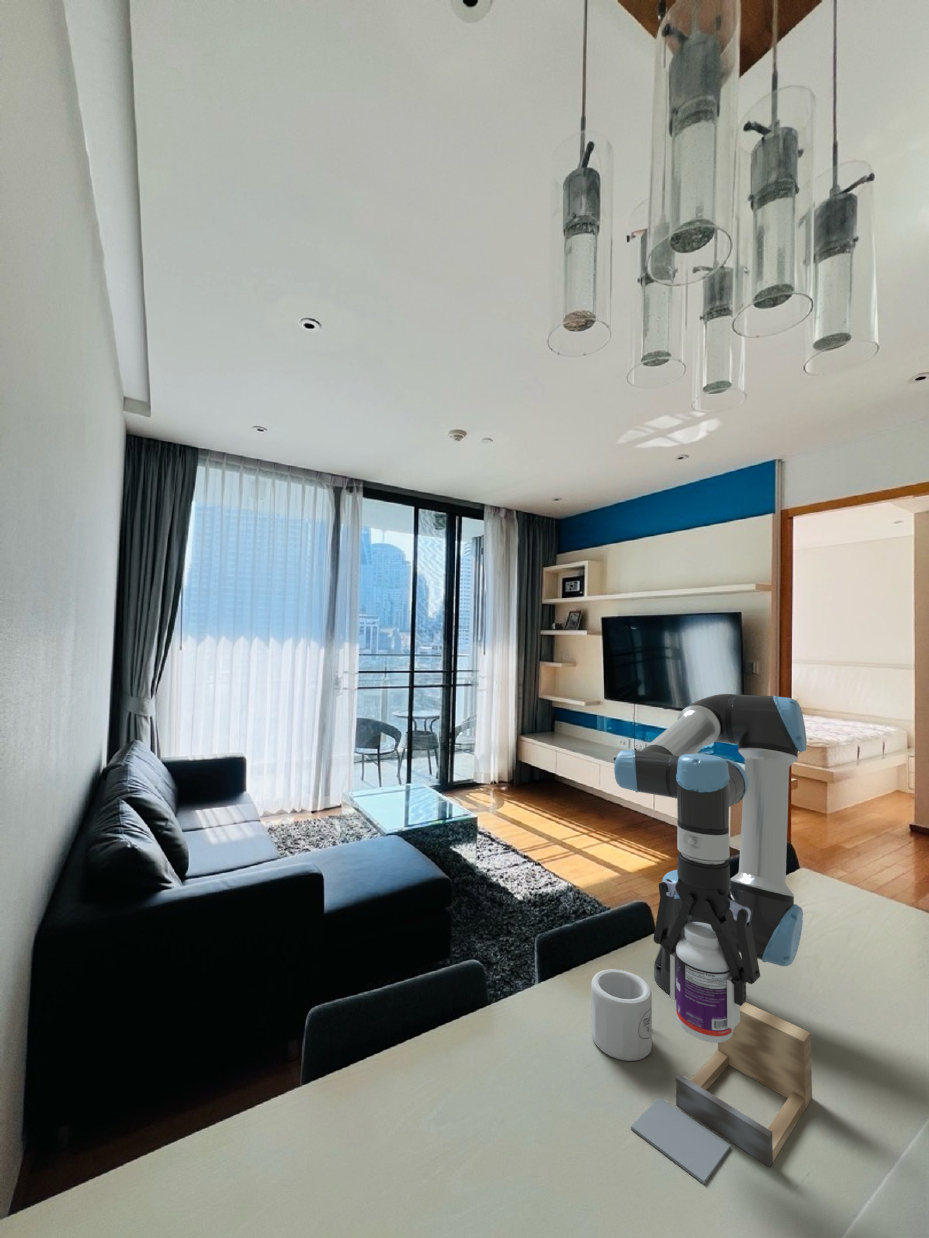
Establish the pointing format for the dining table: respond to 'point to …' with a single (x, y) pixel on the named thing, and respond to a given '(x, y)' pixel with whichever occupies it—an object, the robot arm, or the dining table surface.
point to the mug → (621, 1014)
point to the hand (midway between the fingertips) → (704, 1008)
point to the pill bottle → (702, 984)
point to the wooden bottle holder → (768, 1058)
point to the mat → (681, 1139)
